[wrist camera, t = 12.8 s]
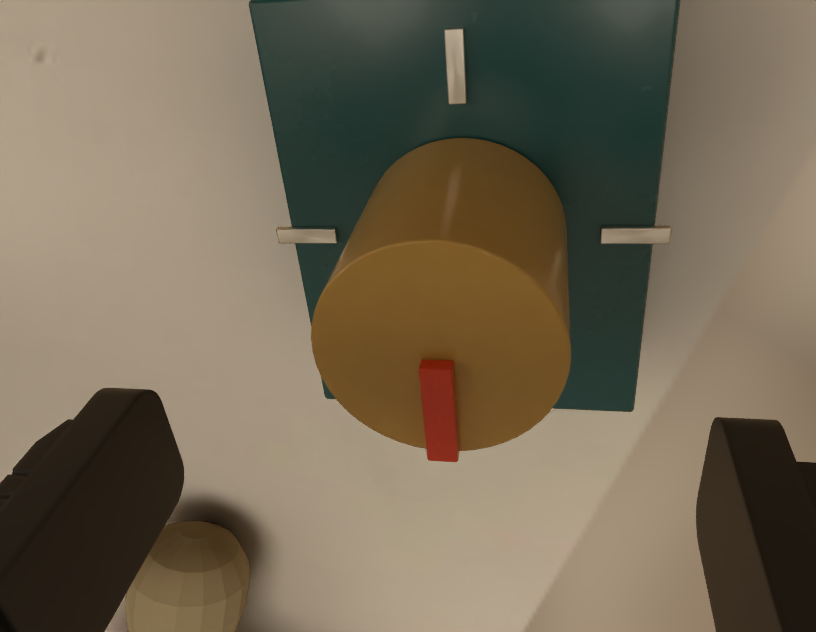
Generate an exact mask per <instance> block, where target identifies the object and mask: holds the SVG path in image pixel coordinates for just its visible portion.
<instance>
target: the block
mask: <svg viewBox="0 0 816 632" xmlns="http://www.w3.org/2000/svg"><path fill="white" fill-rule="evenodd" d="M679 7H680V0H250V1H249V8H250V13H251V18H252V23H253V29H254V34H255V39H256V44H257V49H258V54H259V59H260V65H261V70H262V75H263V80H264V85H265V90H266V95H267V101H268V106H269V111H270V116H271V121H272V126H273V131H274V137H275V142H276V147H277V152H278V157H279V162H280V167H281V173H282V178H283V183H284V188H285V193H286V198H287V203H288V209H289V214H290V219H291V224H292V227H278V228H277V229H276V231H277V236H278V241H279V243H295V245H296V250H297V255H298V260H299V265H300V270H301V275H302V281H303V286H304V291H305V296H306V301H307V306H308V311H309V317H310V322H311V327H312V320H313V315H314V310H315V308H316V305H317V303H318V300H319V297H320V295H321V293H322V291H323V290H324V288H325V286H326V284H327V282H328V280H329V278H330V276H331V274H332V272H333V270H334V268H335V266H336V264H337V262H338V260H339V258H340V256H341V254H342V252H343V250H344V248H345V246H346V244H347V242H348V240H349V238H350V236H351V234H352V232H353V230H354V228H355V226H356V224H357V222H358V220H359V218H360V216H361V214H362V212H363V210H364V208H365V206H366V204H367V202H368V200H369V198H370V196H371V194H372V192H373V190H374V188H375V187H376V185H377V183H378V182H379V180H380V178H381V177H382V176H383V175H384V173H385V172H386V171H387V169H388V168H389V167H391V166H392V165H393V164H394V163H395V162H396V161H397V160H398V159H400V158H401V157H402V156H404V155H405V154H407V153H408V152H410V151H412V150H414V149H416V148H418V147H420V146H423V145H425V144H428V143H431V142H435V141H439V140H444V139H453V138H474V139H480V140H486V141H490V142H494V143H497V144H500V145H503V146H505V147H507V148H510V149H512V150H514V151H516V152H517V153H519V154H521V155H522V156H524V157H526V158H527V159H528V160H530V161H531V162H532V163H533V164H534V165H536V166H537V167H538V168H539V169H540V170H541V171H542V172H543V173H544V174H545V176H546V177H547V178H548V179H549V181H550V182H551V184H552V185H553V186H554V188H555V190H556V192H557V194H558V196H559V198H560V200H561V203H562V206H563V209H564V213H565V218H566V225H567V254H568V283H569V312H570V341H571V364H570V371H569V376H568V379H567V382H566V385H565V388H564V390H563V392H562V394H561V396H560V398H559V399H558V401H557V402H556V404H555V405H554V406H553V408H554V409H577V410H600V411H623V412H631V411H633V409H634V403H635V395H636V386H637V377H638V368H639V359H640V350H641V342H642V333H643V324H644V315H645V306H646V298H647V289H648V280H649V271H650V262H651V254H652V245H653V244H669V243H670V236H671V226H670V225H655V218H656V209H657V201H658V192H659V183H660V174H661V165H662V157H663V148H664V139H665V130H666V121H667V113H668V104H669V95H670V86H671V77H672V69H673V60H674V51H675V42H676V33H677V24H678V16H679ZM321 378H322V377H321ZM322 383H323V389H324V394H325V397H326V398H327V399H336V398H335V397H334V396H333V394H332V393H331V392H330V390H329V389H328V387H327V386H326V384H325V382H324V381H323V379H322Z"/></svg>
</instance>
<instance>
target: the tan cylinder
mask: <svg viewBox="0 0 816 632" xmlns="http://www.w3.org/2000/svg"><path fill="white" fill-rule="evenodd" d="M311 341H312V349H313V354H314V358H315V362H316V365H317V368H318V370H319V372H320V375H321V377H322V379H323V381H324V382H325V384H326V386H327V387H328V389H329V390H330V392H331V393H332V394H333V396H334V397H335V398H336V399H337V401H338V402H339V403H340V404H341V405H342V406H343V407H344V408H345V409H346V410H347V411H348V412H349V413H350V414H352V415H353V416H354V417H355V418H356V419H358V420H359V421H360V422H362V423H363V424H365V425H366V426H368V427H369V428H371V429H373V430H374V431H376V432H378V433H380V434H382V435H384V436H386V437H389V438H391V439H393V440H396V441H398V442H401V443H405V444H408V445H411V446H415V447H420V448H425V449H427V458H428V460H429V461H446V462H457V461H458V457H459V451H467V450H477V449H482V448H487V447H491V446H494V445H498V444H501V443H504V442H506V441H509V440H511V439H513V438H516V437H518V436H519V435H521V434H523V433H524V432H526V431H528V430H529V429H531V428H532V427H533V426H535V425H536V424H537V423H538V422H540V421H541V420H542V419H543V418H544V417H545V416H546V415H547V414H548V413H549V412H550V411H551V409H552V408H553V406H554V405H555V404H556V402H557V401H558V399H559V398H560V396H561V394H562V392H563V390H564V388H565V385H566V382H567V379H568V376H569V371H570V364H571V341H570V312H569V283H568V254H567V225H566V218H565V213H564V209H563V206H562V203H561V200H560V198H559V196H558V194H557V192H556V190H555V188H554V186H553V185H552V184H551V182H550V181H549V179H548V178H547V177H546V176H545V174H544V173H543V172H542V171H541V170H540V169H539V168H538V167H537V166H536V165H534V164H533V163H532V162H531V161H530V160H528V159H527V158H526V157H524V156H522V155H521V154H519V153H517V152H516V151H514V150H512V149H510V148H507V147H505V146H503V145H500V144H497V143H494V142H490V141H486V140H480V139H474V138H453V139H444V140H439V141H435V142H431V143H428V144H425V145H423V146H420V147H418V148H416V149H414V150H412V151H410V152H408V153H407V154H405V155H404V156H402V157H401V158H400V159H398V160H397V161H396V162H395V163H394V164H393V165H392V166H391V167H389V168H388V169H387V171H386V172H385V173H384V175H383V176H382V177H381V178H380V180H379V182H378V183H377V185H376V187H375V188H374V190H373V192H372V194H371V196H370V198H369V200H368V202H367V204H366V206H365V208H364V210H363V212H362V214H361V216H360V218H359V220H358V222H357V224H356V226H355V228H354V230H353V232H352V234H351V236H350V238H349V240H348V242H347V244H346V246H345V248H344V250H343V252H342V254H341V256H340V258H339V260H338V262H337V264H336V266H335V268H334V270H333V272H332V274H331V276H330V278H329V280H328V282H327V284H326V286H325V288H324V290H323V291H322V293H321V295H320V297H319V300H318V303H317V305H316V308H315V310H314V315H313V320H312V327H311Z"/></svg>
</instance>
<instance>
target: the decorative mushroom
mask: <svg viewBox="0 0 816 632" xmlns="http://www.w3.org/2000/svg"><path fill="white" fill-rule="evenodd" d="M249 578H250V571H249V562H248V559H247V557H246V555H245V553H244V552H243V550H242V548H241V546H240V544H239V542H238V540H237V539H236V538H235V537H234V535H233V534H232V533H231V532H230V531H229V530H227V529H225V528H223V527H221V526H219V525H217V524H213V523H208V522H204V521H183V522H178V523H173V524H169V525H167V526H165V527H164V528H163V529H162V531H161V533H160V535H159V536H158V538H157V540H156V542H155V543H154V545H153V547H152V549H151V550H150V552H149V554H148V556H147V558H146V559H145V561H144V563H143V565H142V566H141V568H140V570H139V572H138V573H137V575H136V577H135V579H134V580H133V582H132V584H131V586H130V587H129V589H128V591H127V593H126V601H125V610H126V618H127V626H128V632H236V629H237V626H238V623H239V621H240V618H241V615H242V613H243V610H244V607H245V605H246V601H247V593H248V586H249Z"/></svg>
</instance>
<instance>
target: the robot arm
mask: <svg viewBox="0 0 816 632" xmlns="http://www.w3.org/2000/svg"><path fill="white" fill-rule="evenodd" d="M183 483H184V466H183V461H182V458H181V455H180V452H179V450H178V447H177V444H176V441H175V438H174V435H173V432H172V430H171V427H170V424H169V421H168V418H167V415H166V413H165V410H164V407H163V404H162V401H161V399H160V397H159V396H158V394H157V393H156V392H154V391H153V390H144V389H122V388H103V389H101V390H99V391H98V392H96V393H95V394H94V395H93V397H92V398H91V399H90V400H89V401H88V403H87V404H86V405H85V406H84V408H83V409H82V410H81V411H80V412H79V414H78V415H77V416H76V417H75V418H74V420H69V419H68V420H67V421H65V422H64V423H62V424H61V425H60V426H58V427H57V428H55V429H54V430H52V431H51V432H50V433H48V434H47V435H45V436H44V437H43V438H41V439H40V440H38V441H37V442H36V443H35V444H34V445H33V446H32V447H31V448H30V450H29V451H28V452H27V453H26V454H25V455H24V457H23V458H22V459H21V460H20V461H19V462H18V464H17V465H16V466H15V467H14V468H13V473H12V475H7V476H6V477H5V479H4V480H3V481H2V482H1V483H0V632H104V631H105V630H106V628H107V626H108V624H109V623H110V621H111V619H112V617H113V616H114V614H115V612H116V610H117V609H118V607H119V605H120V603H121V601H122V600H123V598H124V596H125V594H126V593H127V591H128V589H129V587H130V586H131V584H132V582H133V580H134V579H135V577H136V575H137V573H138V572H139V570H140V568H141V566H142V565H143V563H144V561H145V559H146V558H147V556H148V554H149V552H150V550H151V549H152V547H153V545H154V543H155V542H156V540H157V538H158V536H159V535H160V533H161V531H162V529H163V528H164V526H165V524H166V522H167V521H168V519H169V517H170V515H171V514H172V512H173V510H174V508H175V507H176V505H177V503H178V501H179V498H180V496H181V492H182V488H183ZM696 526H697V538H698V545H699V550H700V555H701V560H702V565H703V569H704V575H705V579H706V584H707V589H708V594H709V599H710V604H711V609H712V613H713V618H714V623H715V628H716V632H816V463H811V462H810V463H809V462H796V459H795V457H794V454H793V452H792V449H791V447H790V444H789V441H788V439H787V436H786V434H785V431H784V429H783V427H782V425H781V424H780V422H779V421H777V420H763V419H743V418H720V417H717V418H715V419H714V421H713V423H712V426H711V430H710V435H709V440H708V446H707V450H706V455H705V461H704V466H703V471H702V476H701V482H700V487H699V491H698V498H697V506H696Z"/></svg>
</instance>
